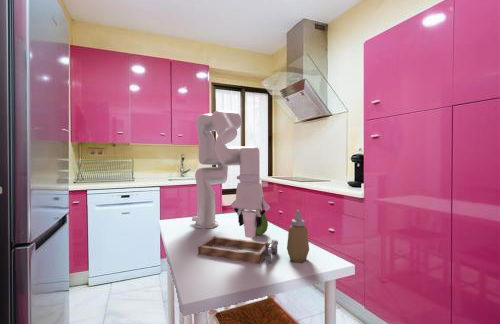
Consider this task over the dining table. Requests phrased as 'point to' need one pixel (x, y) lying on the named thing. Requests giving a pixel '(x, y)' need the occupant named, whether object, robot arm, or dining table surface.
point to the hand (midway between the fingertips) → (250, 225)
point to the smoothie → (249, 222)
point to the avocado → (262, 226)
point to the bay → (248, 253)
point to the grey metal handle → (270, 250)
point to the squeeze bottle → (298, 239)
